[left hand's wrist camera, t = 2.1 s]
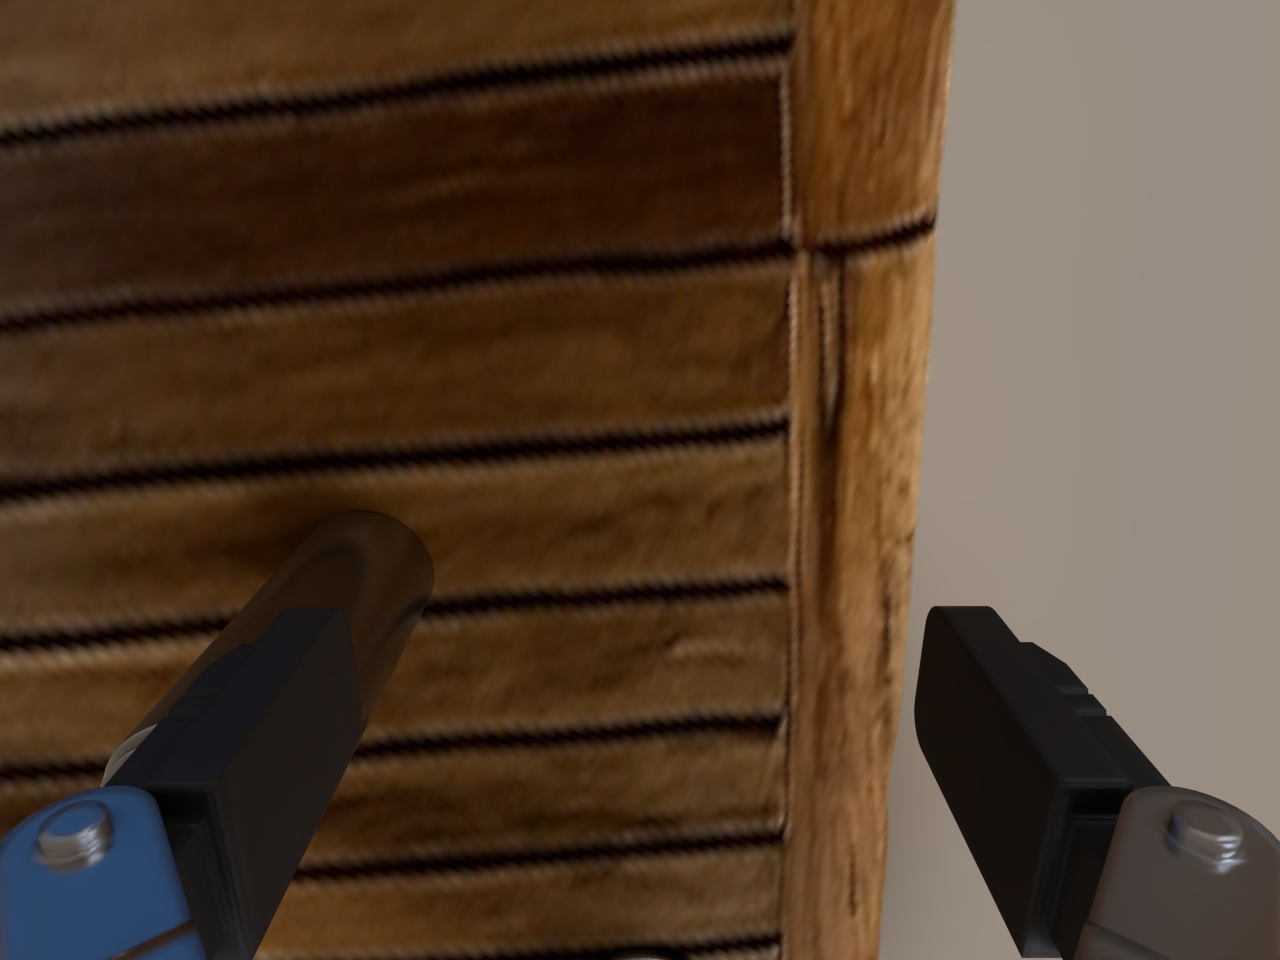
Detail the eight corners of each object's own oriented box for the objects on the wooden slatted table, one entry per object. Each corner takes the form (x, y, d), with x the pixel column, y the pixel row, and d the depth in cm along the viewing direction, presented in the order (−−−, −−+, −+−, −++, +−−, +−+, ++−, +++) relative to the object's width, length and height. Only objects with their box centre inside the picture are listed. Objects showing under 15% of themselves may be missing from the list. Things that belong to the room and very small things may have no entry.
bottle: (402, 494, 42) (166, 820, 21) (454, 609, 44) (287, 1006, 23) (277, 532, 43) (-70, 883, 22) (335, 643, 45) (70, 1057, 24)
